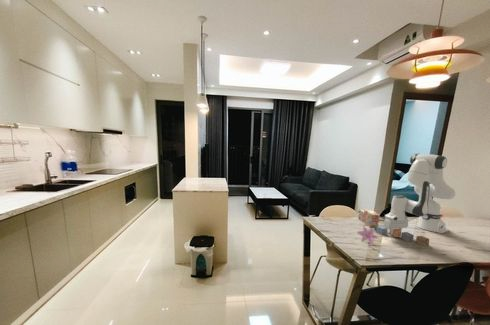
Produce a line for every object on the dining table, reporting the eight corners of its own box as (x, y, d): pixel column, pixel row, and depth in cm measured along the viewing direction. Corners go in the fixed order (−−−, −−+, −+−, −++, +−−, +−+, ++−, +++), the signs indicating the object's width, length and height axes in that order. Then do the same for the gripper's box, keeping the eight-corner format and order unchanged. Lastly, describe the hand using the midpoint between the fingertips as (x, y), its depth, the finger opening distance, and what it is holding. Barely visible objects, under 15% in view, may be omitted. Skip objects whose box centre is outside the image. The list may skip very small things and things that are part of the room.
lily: (354, 238, 149) (355, 230, 144) (365, 230, 152) (366, 222, 147) (368, 250, 140) (370, 242, 135) (380, 242, 143) (382, 233, 138)
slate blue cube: (381, 231, 161) (381, 225, 161) (386, 234, 156) (387, 228, 156) (376, 232, 160) (376, 226, 159) (381, 234, 155) (382, 228, 155)
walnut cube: (420, 242, 146) (421, 235, 145) (428, 245, 141) (429, 238, 140) (415, 242, 144) (416, 236, 144) (423, 246, 139) (424, 239, 139)
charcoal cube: (405, 238, 151) (406, 231, 151) (412, 241, 146) (413, 234, 146) (400, 238, 150) (401, 232, 149) (407, 241, 145) (408, 235, 144)
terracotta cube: (394, 233, 156) (395, 227, 155) (400, 236, 151) (401, 230, 151) (389, 234, 155) (390, 228, 154) (395, 237, 150) (396, 230, 149)
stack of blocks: (358, 218, 188) (359, 206, 187) (365, 219, 188) (366, 206, 187) (370, 228, 167) (371, 214, 166) (378, 228, 167) (379, 214, 166)
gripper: (403, 213, 157) (401, 230, 158) (383, 215, 152) (381, 232, 153) (411, 216, 151) (409, 234, 152) (391, 218, 146) (389, 236, 147)
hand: (395, 233), depth 153 cm, fingers closed on terracotta cube, 5 cm apart
